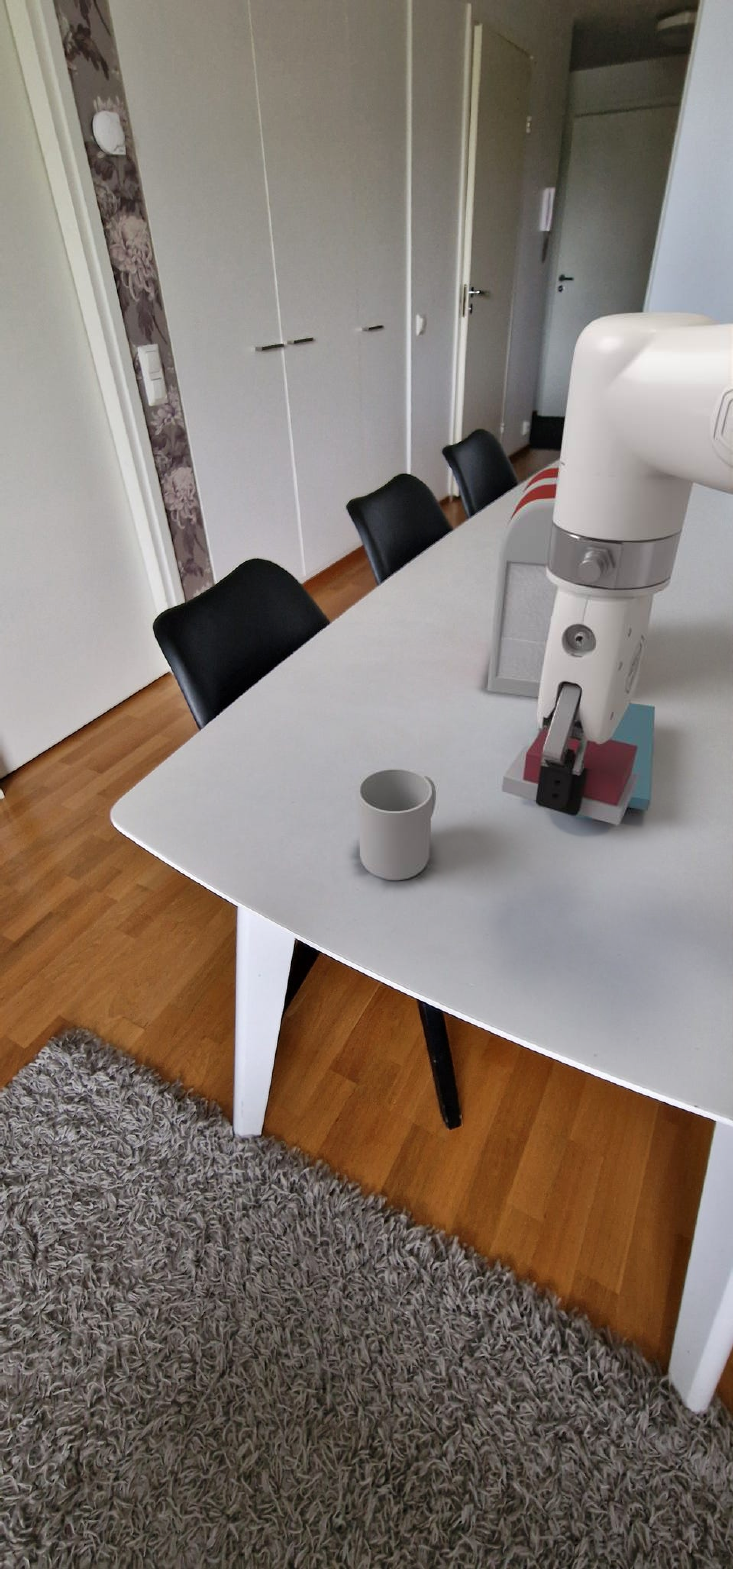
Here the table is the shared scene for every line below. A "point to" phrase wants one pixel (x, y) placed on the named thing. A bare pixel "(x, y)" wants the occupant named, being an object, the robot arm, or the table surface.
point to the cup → (395, 822)
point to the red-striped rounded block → (524, 592)
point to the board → (637, 732)
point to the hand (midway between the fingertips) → (569, 785)
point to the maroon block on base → (604, 780)
